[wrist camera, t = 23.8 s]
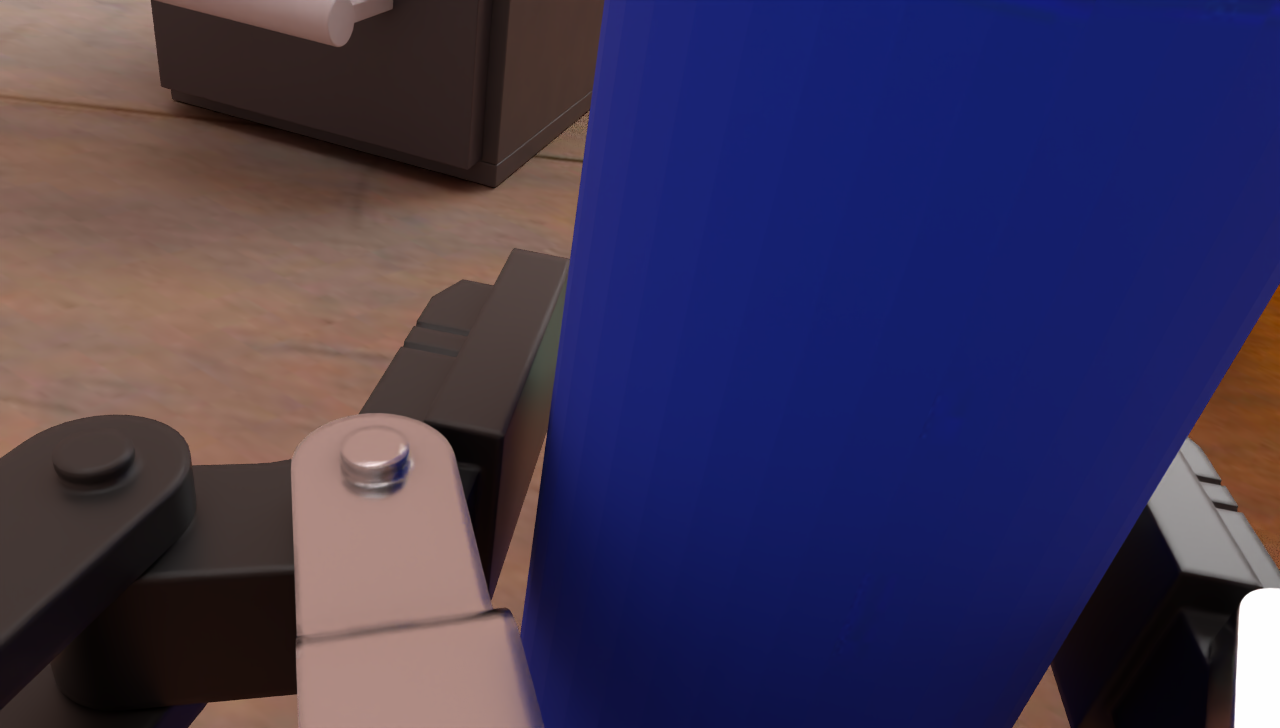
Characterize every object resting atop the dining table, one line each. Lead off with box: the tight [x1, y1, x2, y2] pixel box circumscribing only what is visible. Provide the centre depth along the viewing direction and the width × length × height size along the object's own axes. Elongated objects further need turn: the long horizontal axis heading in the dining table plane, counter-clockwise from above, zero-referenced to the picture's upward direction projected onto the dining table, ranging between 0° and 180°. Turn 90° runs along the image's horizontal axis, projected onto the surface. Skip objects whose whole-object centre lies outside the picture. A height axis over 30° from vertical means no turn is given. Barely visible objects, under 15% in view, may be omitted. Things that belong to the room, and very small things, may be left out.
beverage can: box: [520, 0, 1280, 728], centre depth 10 cm, size 5×5×15 cm
